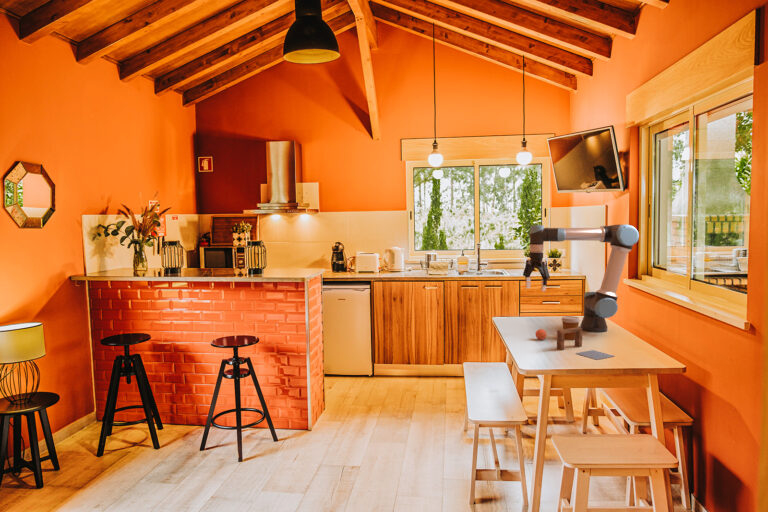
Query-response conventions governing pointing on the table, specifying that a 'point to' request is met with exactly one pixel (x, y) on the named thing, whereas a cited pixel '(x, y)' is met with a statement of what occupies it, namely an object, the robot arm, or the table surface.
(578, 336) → the bridge
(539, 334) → the ball
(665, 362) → the table surface
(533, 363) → the table surface
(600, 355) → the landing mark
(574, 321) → the disposable coffee cup
